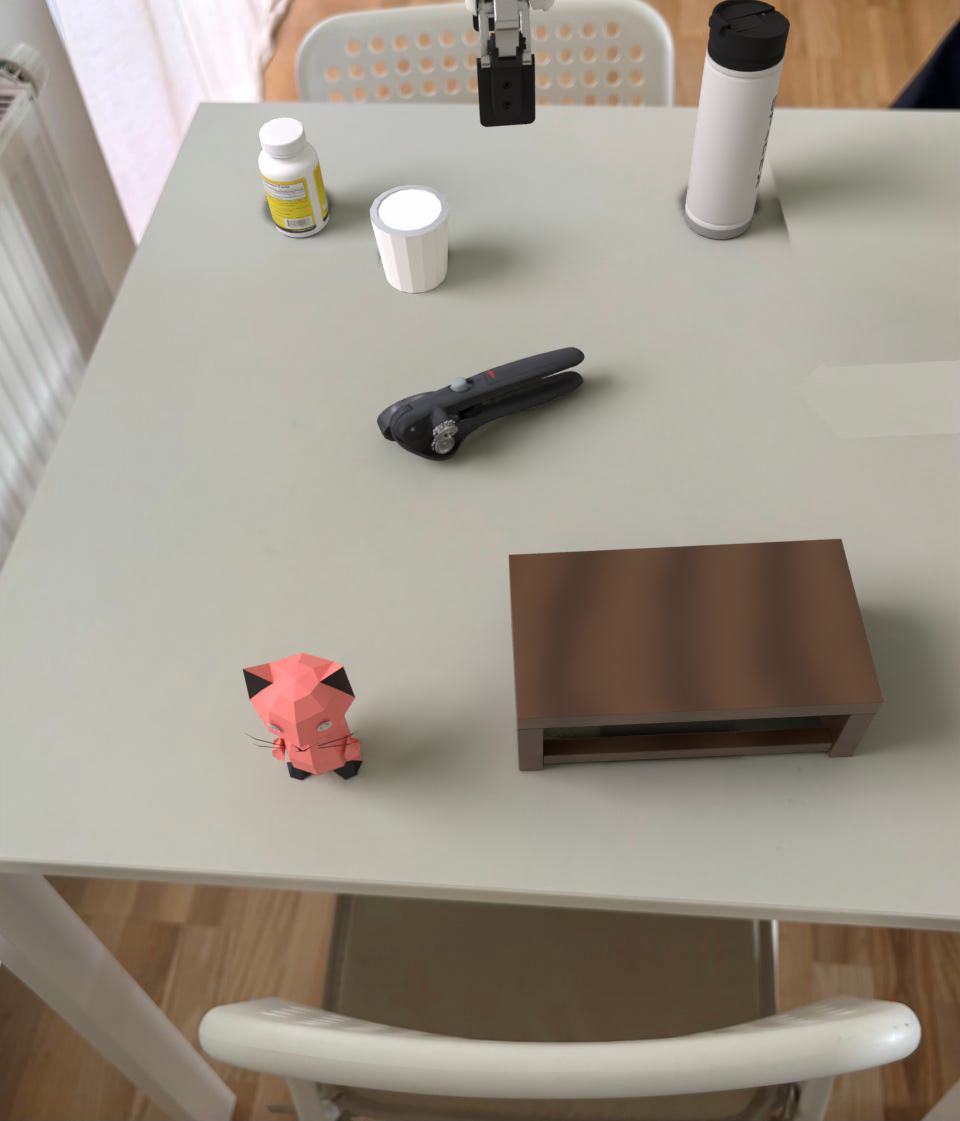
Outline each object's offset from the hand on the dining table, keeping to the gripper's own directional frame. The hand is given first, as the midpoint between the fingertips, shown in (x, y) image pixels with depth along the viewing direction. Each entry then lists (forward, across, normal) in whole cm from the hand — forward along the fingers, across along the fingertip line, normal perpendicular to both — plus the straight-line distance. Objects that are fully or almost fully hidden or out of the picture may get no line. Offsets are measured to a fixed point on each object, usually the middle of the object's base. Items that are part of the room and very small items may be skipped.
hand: (503, 73), depth 67 cm
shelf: (+30, -27, -9) cm, 41 cm away
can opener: (+30, -2, +2) cm, 30 cm away
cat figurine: (+30, -30, +15) cm, 45 cm away
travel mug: (+30, +21, -20) cm, 42 cm away
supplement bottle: (+30, +25, +19) cm, 43 cm away
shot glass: (+30, +17, +8) cm, 35 cm away
